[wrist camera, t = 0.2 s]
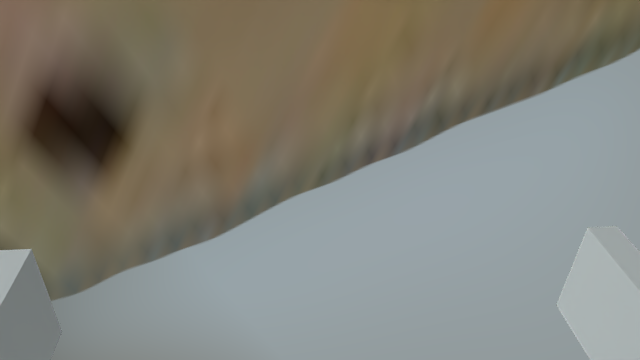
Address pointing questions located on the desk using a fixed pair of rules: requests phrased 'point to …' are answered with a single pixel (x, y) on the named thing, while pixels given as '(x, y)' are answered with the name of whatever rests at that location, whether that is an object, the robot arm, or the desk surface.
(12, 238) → the desk surface
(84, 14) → the desk surface
